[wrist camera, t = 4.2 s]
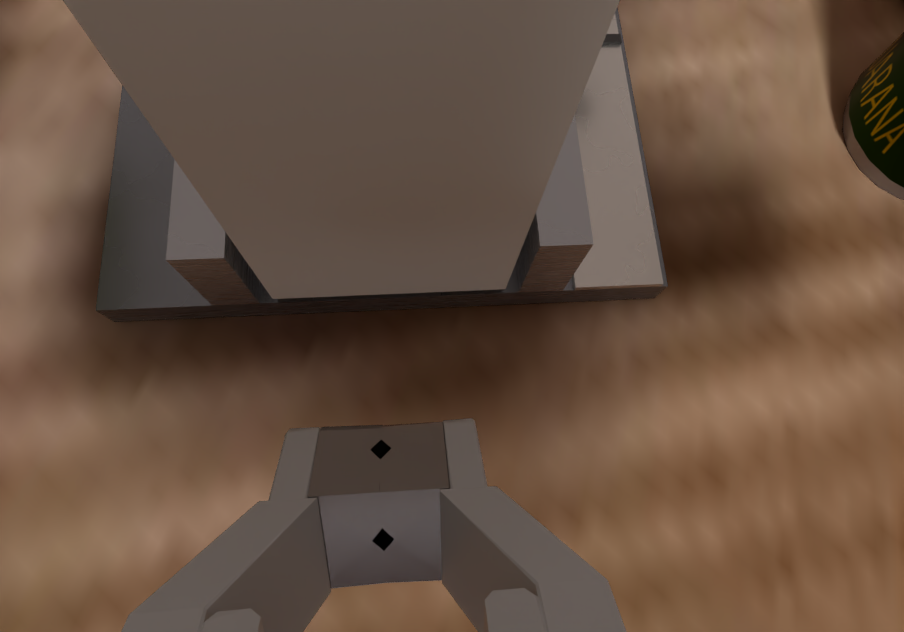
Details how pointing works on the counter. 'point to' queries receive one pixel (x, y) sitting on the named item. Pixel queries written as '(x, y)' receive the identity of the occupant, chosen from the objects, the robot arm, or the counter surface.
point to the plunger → (360, 127)
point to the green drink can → (879, 120)
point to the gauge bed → (532, 281)
